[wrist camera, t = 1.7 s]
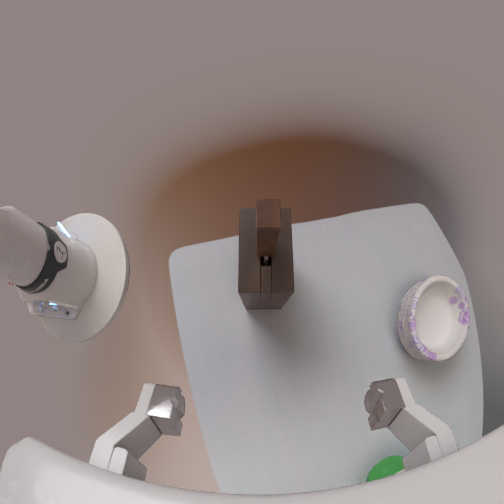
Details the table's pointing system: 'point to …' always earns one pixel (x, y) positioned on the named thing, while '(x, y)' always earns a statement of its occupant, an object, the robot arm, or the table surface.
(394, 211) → the table surface
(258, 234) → the knife
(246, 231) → the knife block
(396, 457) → the cup
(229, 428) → the table surface
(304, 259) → the table surface
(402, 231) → the table surface
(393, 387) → the robot arm
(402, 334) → the paper bowls
